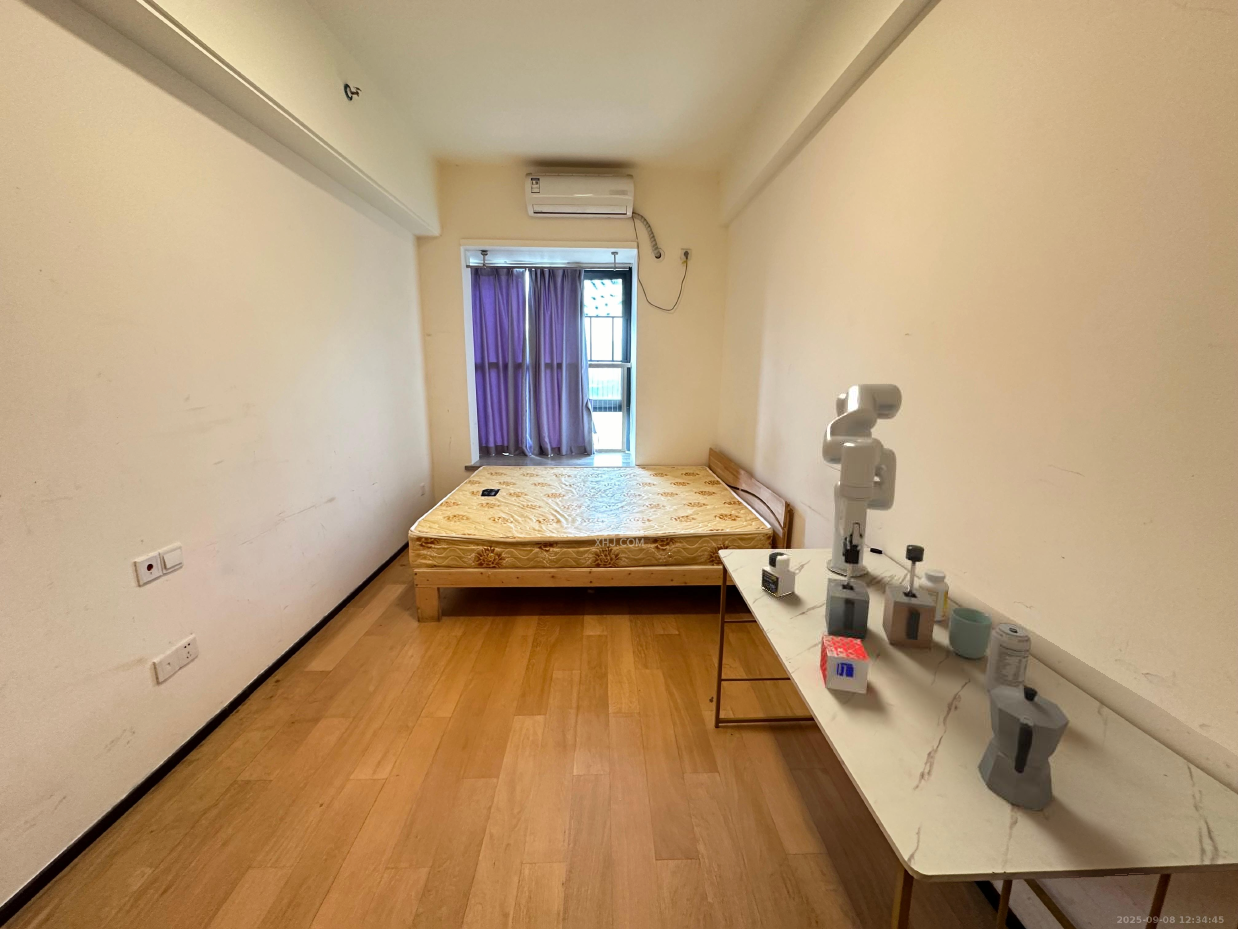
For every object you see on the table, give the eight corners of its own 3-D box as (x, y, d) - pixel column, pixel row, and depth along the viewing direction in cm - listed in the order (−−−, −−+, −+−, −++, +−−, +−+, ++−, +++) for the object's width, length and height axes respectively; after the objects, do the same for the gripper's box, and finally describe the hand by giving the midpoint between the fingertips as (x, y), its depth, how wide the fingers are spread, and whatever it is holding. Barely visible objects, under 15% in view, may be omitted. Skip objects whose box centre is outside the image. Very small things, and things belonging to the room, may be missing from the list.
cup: (994, 665, 103) (1000, 625, 101) (956, 661, 105) (961, 622, 103) (975, 645, 111) (980, 608, 109) (939, 642, 112) (944, 605, 110)
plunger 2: (891, 598, 117) (897, 541, 114) (920, 602, 115) (926, 544, 112) (897, 611, 111) (903, 551, 108) (927, 615, 109) (934, 553, 106)
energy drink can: (1017, 689, 95) (1028, 625, 92) (1024, 708, 90) (1036, 640, 87) (981, 680, 98) (991, 618, 95) (986, 697, 93) (996, 632, 90)
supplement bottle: (936, 609, 127) (941, 567, 125) (950, 622, 121) (956, 578, 118) (911, 609, 128) (915, 566, 126) (924, 621, 122) (929, 577, 119)
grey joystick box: (825, 617, 125) (827, 577, 123) (860, 622, 122) (864, 582, 120) (828, 637, 116) (831, 595, 113) (866, 643, 113) (870, 600, 110)
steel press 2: (882, 625, 120) (886, 584, 118) (920, 631, 117) (925, 589, 115) (890, 647, 111) (895, 603, 109) (932, 654, 108) (938, 609, 106)
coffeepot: (981, 745, 82) (995, 656, 78) (1052, 775, 75) (1071, 680, 72) (970, 804, 71) (986, 705, 67) (1053, 845, 65) (1075, 738, 61)
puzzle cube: (857, 670, 103) (860, 639, 101) (865, 694, 96) (869, 660, 94) (819, 665, 105) (821, 634, 103) (825, 687, 98) (827, 655, 96)
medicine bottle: (760, 588, 143) (762, 552, 140) (778, 583, 146) (779, 548, 143) (777, 598, 136) (779, 561, 134) (795, 592, 139) (797, 556, 137)
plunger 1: (832, 591, 122) (836, 536, 119) (858, 594, 120) (863, 538, 116) (834, 602, 116) (839, 545, 113) (862, 606, 114) (867, 547, 111)
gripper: (835, 482, 121) (831, 546, 125) (843, 498, 106) (837, 571, 109) (867, 484, 118) (861, 549, 122) (879, 501, 103) (872, 575, 107)
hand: (850, 559), depth 116 cm, fingers closed on plunger 1, 3 cm apart
